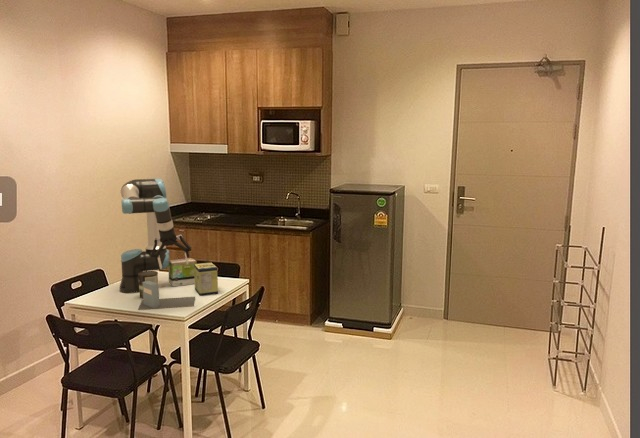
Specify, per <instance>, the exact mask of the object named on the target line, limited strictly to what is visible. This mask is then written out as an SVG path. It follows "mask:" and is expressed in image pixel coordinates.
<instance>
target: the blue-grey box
mask: <svg viewBox="0 0 640 438" xmlns="http://www.w3.org/2000/svg"><path fill="white" fill-rule="evenodd" d="M142 283H143V299H142V300H143V302H144V304H145V305H147V306H150V307H152V308H155V307H159V299H160V292H159V291H160V289H159V283H158V284H157V283H154V282H151V281H145V282H142Z"/></svg>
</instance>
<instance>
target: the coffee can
mask: <svg viewBox="0 0 640 438" xmlns="http://www.w3.org/2000/svg"><path fill="white" fill-rule="evenodd" d="M158 273H159V272H158V270H150V271H143V272H140V273H138V276H139V292H138V293H139V298H140V299H141V300H143V283H142V282H145V281H151V282H154V283H157V284H158V285H159V278H158V277H159V276H158Z"/></svg>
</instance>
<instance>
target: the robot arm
mask: <svg viewBox="0 0 640 438" xmlns="http://www.w3.org/2000/svg"><path fill="white" fill-rule="evenodd" d="M120 194H121V197H122V198H123V199H121V211H122V213H123V214H125V215H126V214H129V215H130V214H143V213H145V214H146V228H147V230H146V231H147V244H148V245H147V246H146V247H145V251H144V250H142V249H141V248H133V249H130V250H125V251H124V252H122V253H121V254H120V257H121V258H120V262H121V275H122V276H121V280H120V283H119V284H120V285H119V292H120V293H124V294H131V293H139V276H138V273H140V272H143V271H158V270H159V271H161V270H166V269H167V268H169V266H168V263H169V260H170V250H169V249H167V247H168V246H173V245H174V246H176V247H177V248H179V249H181V250H182V251H183V252H184V257H185V258H184V259H186V263H187V264H188V258H190V251H192V247H191V245H190V244H189V243H188V242H187V241H186V240H185V238H184V237H183V234H181V233H180V234H179V235H176V232H175V227H174V222H173V218H172V213H171V209H170V203H169V200H168V199H167V189H166V185H165V182H164V180H163V179H161V178H143V179H142V178H141V179H132V180H129V181H126V182H125V183H124V184H122V186H121V188H120ZM177 239H178V240H180V242H181V243H180V242H179V241H178V240H177Z"/></svg>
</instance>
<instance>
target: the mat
mask: <svg viewBox="0 0 640 438" xmlns="http://www.w3.org/2000/svg"><path fill="white" fill-rule="evenodd" d="M195 301H196V296H184V297H167V298H166V297H165V298H159V307H155V308H152V307H150V306H147V305H145V304H144V302H143V299H141V302H140V304H139V307H138V308H137V311H145V310H146V311H147V310H160V309H177V308H188V307H189V308H190V307H195Z"/></svg>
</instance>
